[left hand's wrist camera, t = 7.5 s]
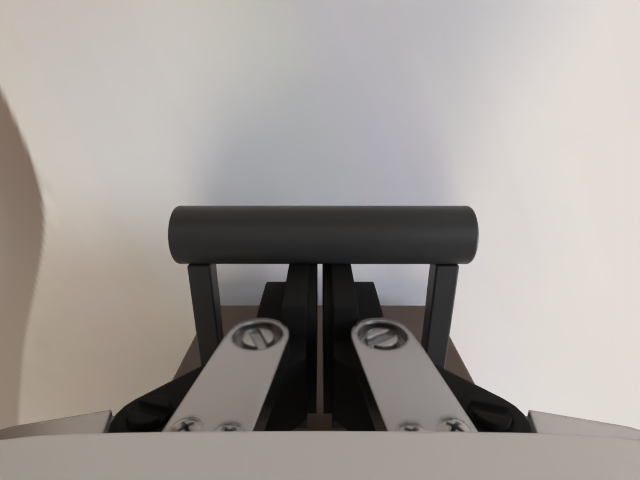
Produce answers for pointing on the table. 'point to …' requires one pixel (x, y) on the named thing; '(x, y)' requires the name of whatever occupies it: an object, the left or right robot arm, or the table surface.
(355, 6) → the table surface
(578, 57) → the table surface
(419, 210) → the drawer
